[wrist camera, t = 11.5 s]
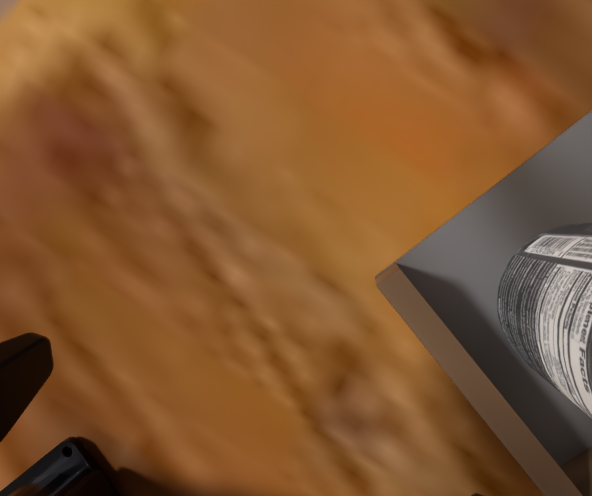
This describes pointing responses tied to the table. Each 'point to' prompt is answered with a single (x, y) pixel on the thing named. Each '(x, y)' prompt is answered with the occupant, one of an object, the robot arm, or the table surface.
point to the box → (484, 317)
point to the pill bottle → (552, 309)
